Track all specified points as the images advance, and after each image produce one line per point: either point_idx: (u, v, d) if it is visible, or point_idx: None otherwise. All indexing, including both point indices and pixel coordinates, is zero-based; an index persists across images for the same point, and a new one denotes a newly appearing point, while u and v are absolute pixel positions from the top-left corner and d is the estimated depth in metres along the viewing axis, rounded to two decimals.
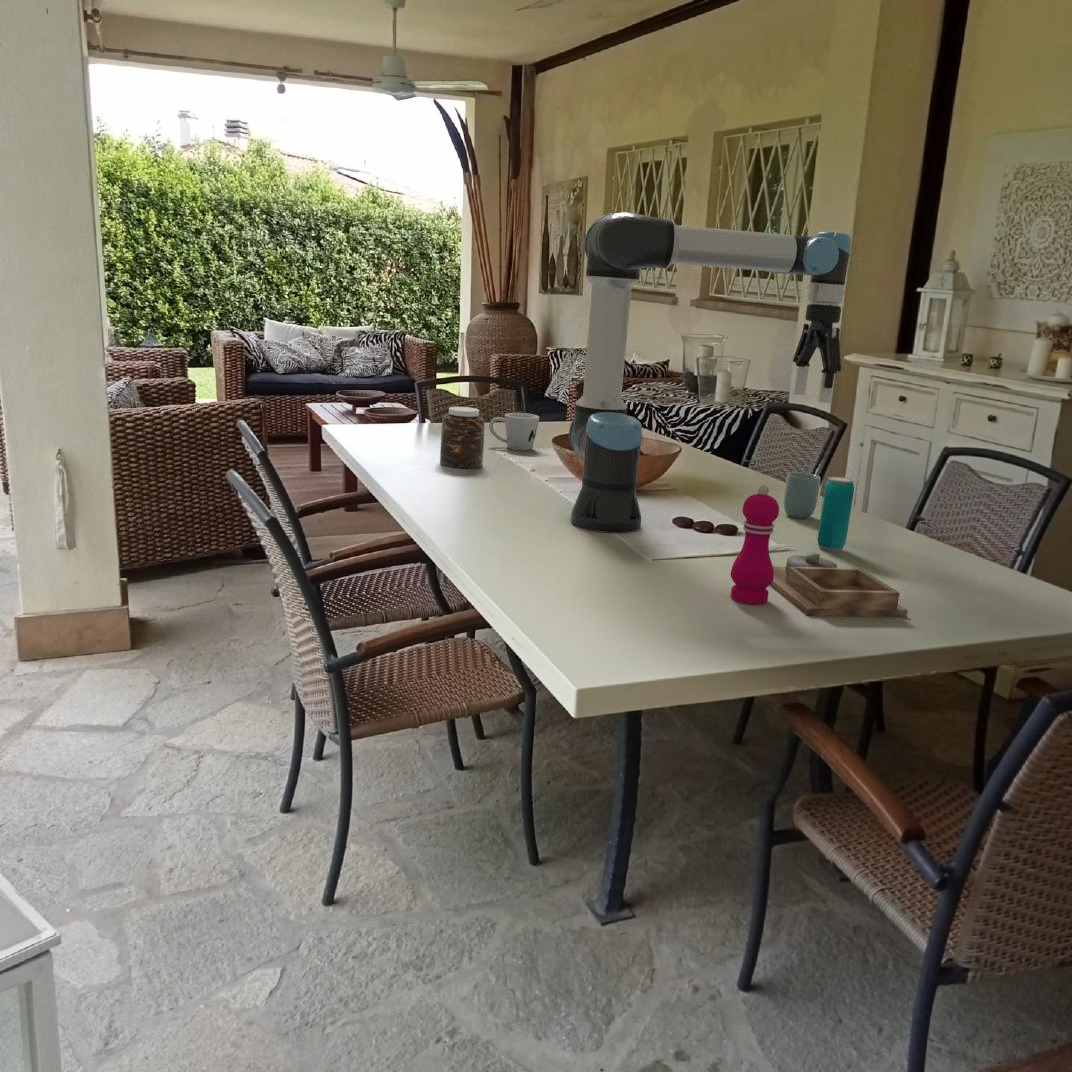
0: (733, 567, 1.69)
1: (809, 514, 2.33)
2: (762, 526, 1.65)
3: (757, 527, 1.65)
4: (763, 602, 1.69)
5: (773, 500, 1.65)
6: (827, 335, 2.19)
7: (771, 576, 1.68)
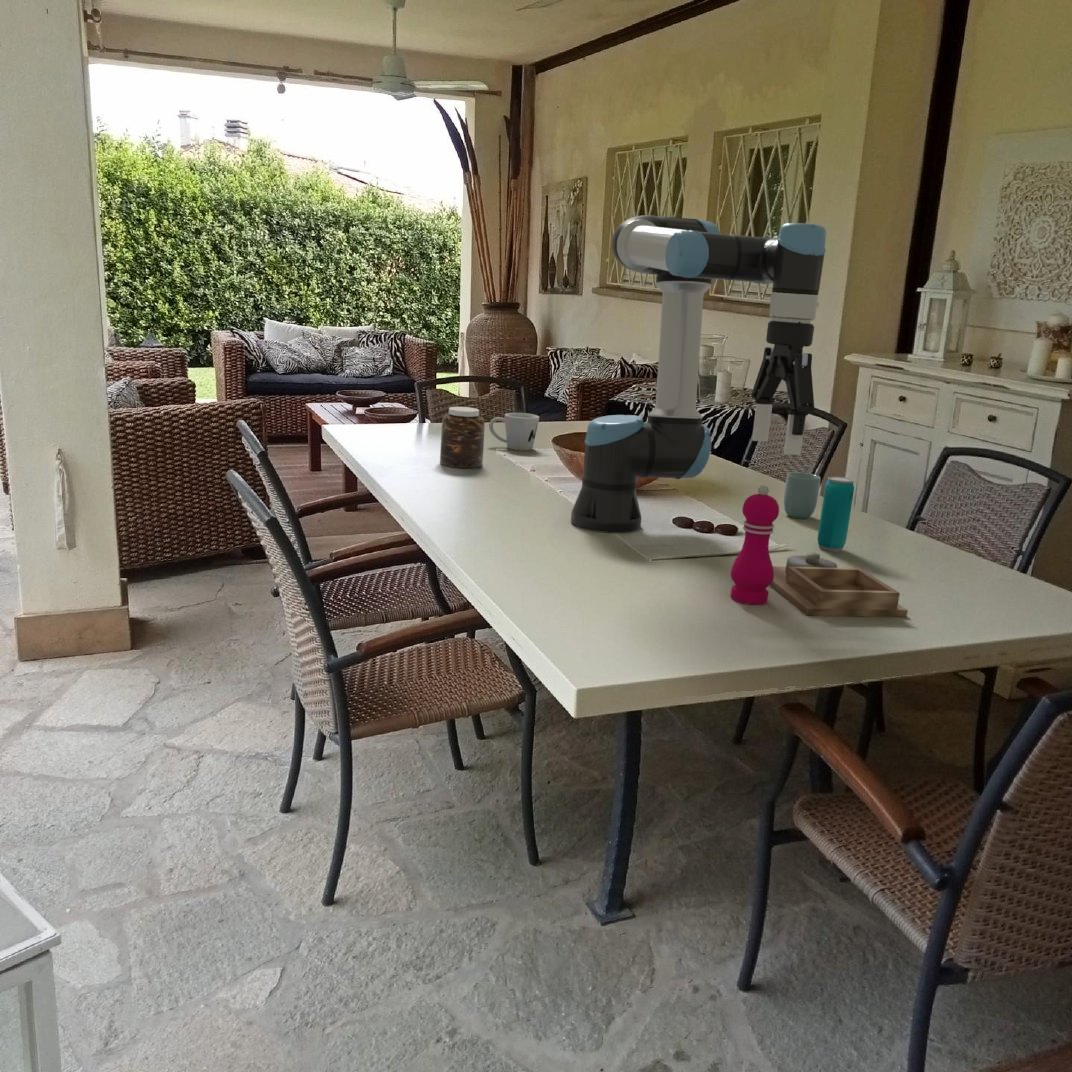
0: (733, 567, 1.69)
1: (809, 514, 2.33)
2: (762, 526, 1.65)
3: (757, 527, 1.65)
4: (763, 602, 1.69)
5: (773, 500, 1.65)
6: (795, 363, 1.61)
7: (771, 576, 1.68)
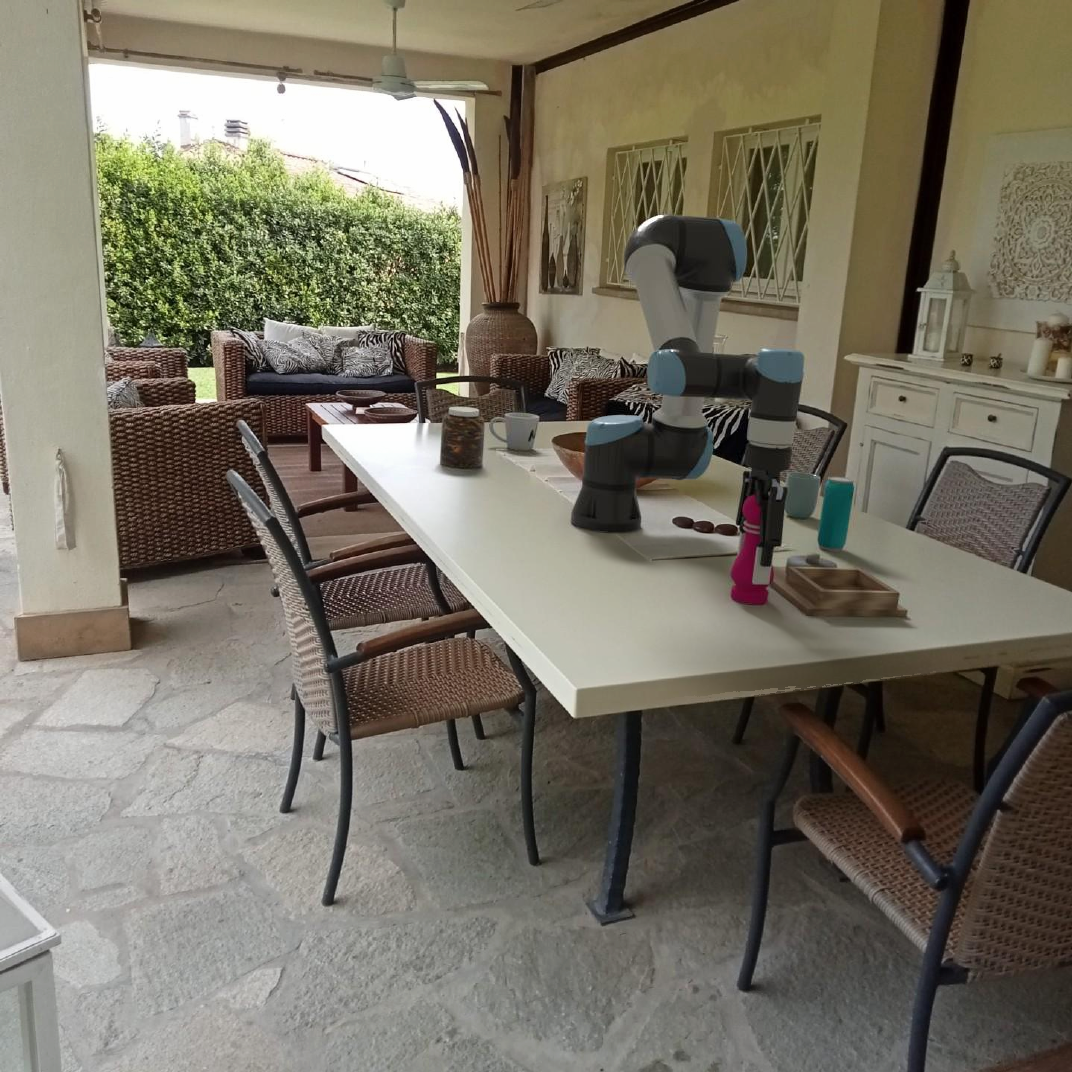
0: (733, 567, 1.69)
1: (809, 514, 2.33)
2: None
3: (757, 527, 1.65)
4: (763, 602, 1.69)
5: None
6: (770, 496, 1.60)
7: (771, 576, 1.68)
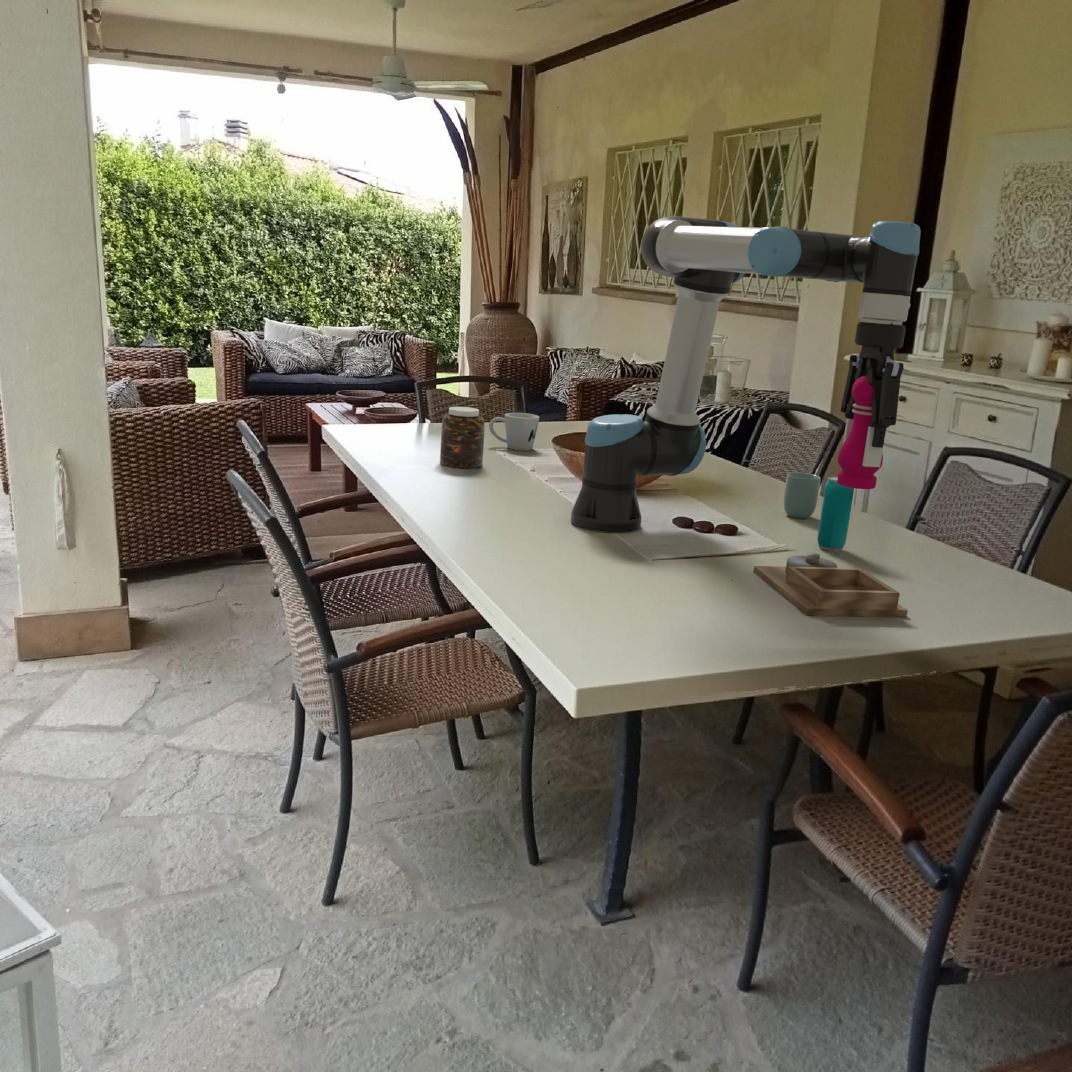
0: (841, 451, 1.66)
1: (809, 514, 2.33)
2: None
3: (868, 408, 1.62)
4: (872, 487, 1.65)
5: None
6: (885, 372, 1.57)
7: (881, 460, 1.64)
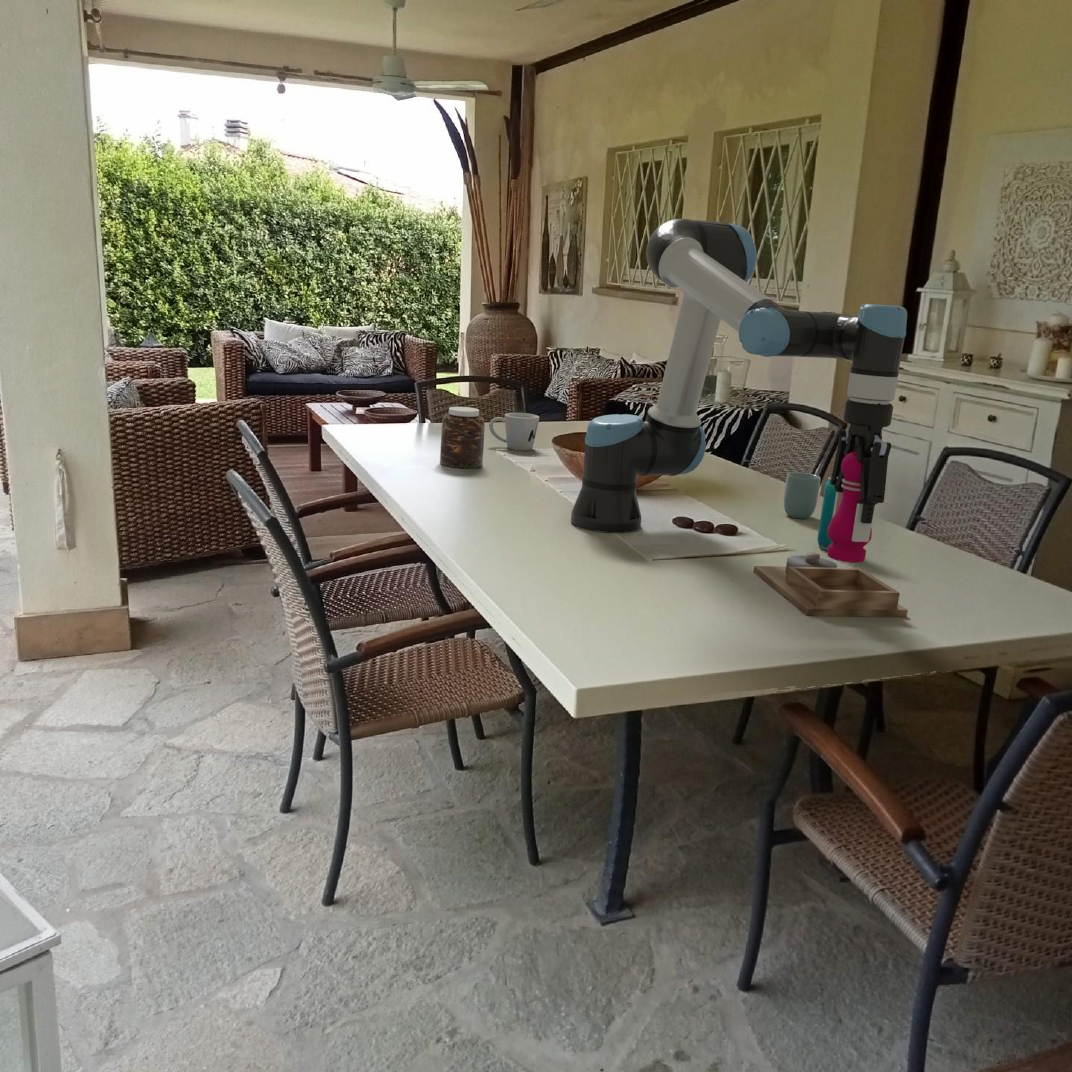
0: (831, 525, 1.69)
1: (809, 514, 2.33)
2: None
3: (857, 484, 1.65)
4: (861, 560, 1.68)
5: None
6: (873, 452, 1.60)
7: (870, 534, 1.67)
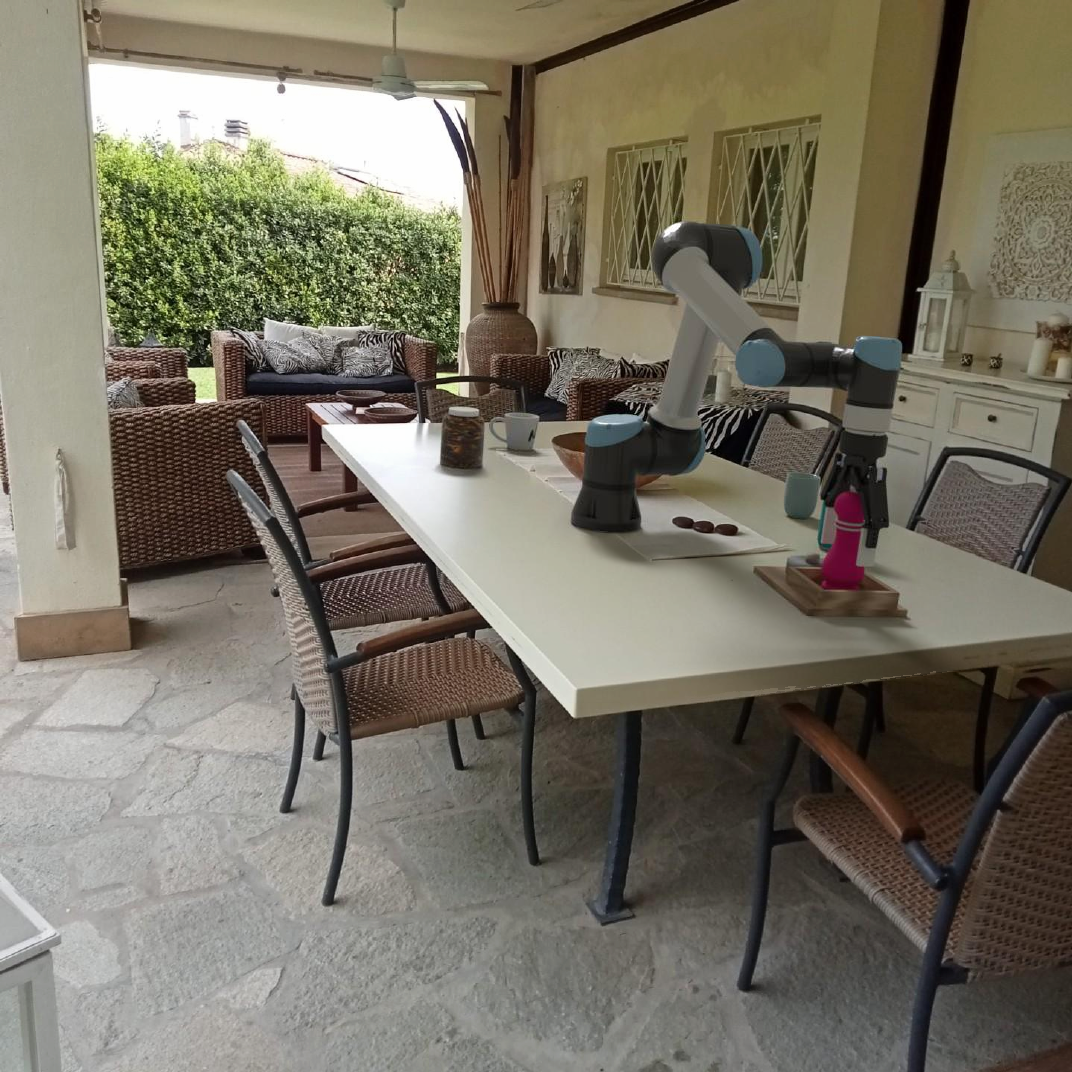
0: (824, 564, 1.71)
1: (809, 514, 2.33)
2: (855, 523, 1.67)
3: (850, 524, 1.67)
4: None
5: None
6: (870, 477, 1.61)
7: (862, 573, 1.69)
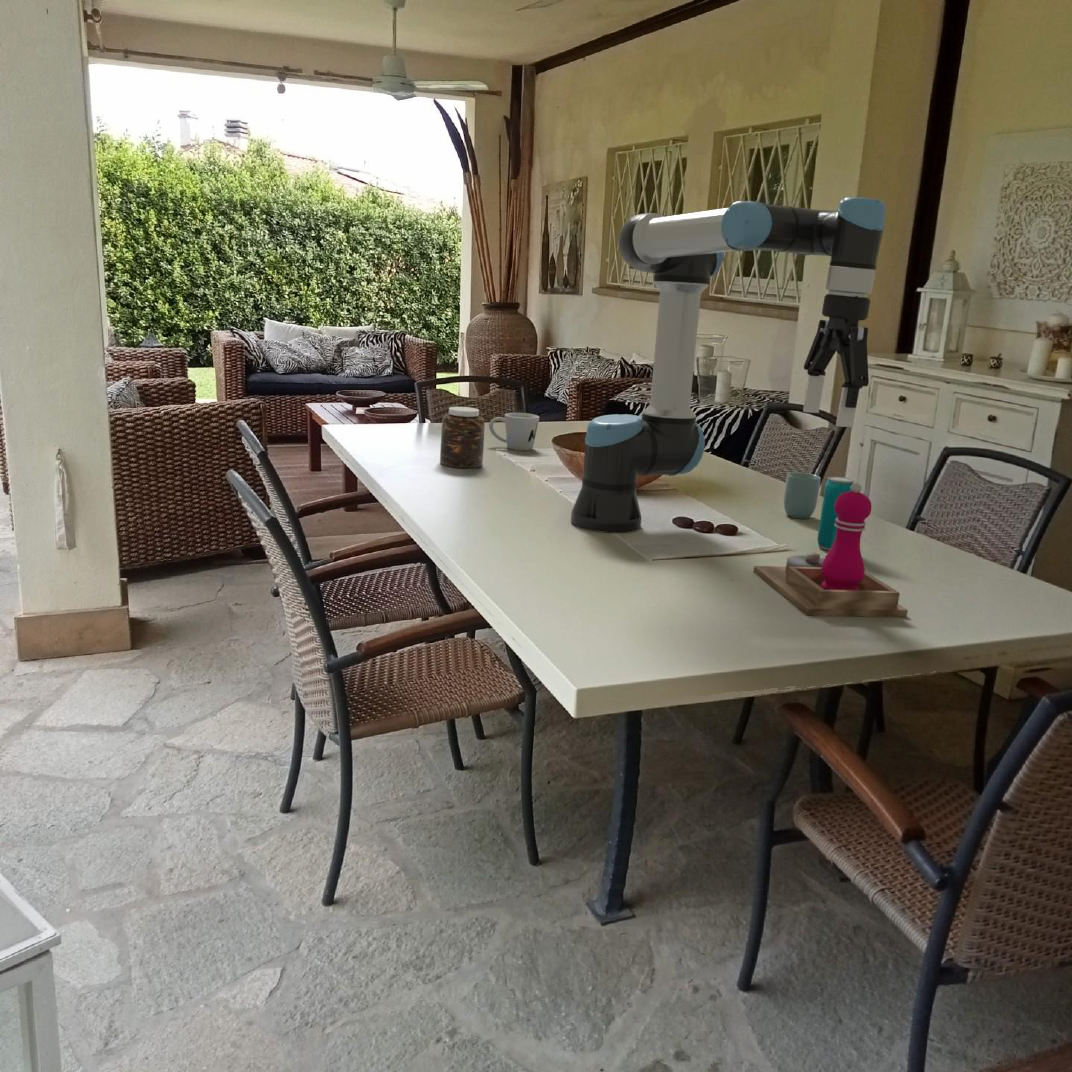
0: (824, 564, 1.71)
1: (809, 514, 2.33)
2: (855, 523, 1.67)
3: (850, 524, 1.67)
4: None
5: (866, 497, 1.67)
6: (851, 337, 1.64)
7: (863, 573, 1.69)
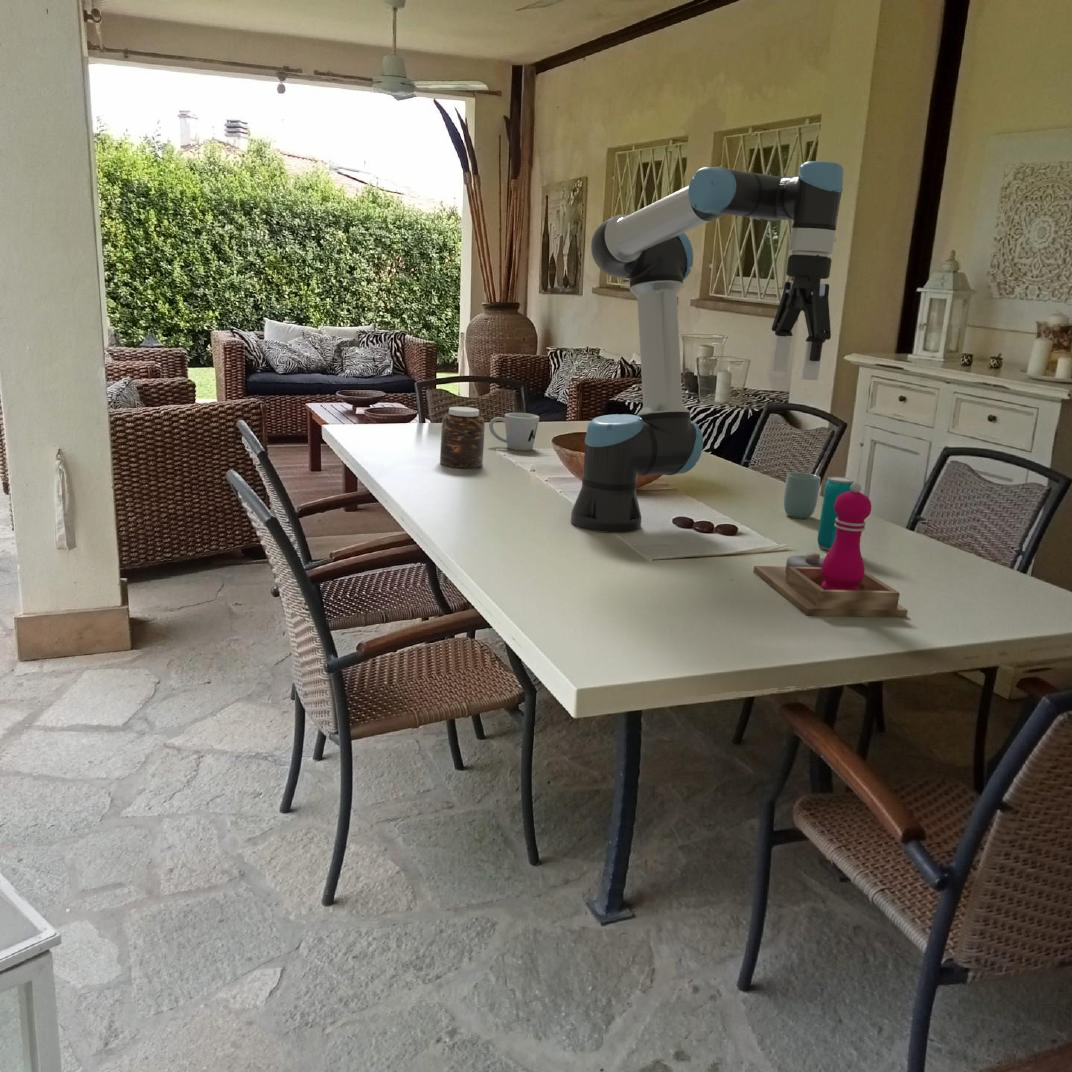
0: (824, 564, 1.71)
1: (809, 514, 2.33)
2: (855, 523, 1.67)
3: (850, 524, 1.67)
4: None
5: (866, 497, 1.67)
6: (813, 293, 1.72)
7: (862, 573, 1.69)
